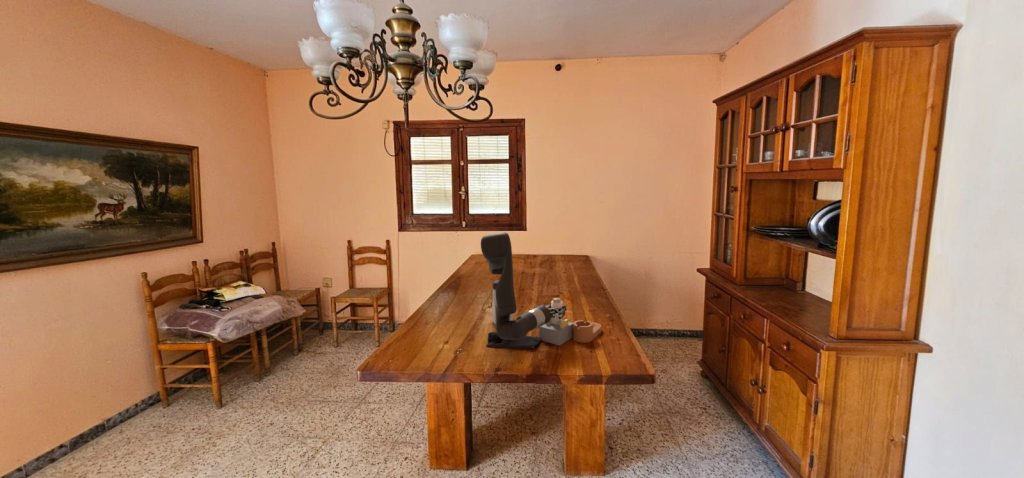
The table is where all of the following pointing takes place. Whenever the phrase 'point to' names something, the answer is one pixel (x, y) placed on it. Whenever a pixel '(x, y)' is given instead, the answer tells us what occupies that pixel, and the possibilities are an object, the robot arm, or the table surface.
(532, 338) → the dark slate chunk
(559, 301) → the white bottle
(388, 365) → the table surface
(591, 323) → the bracket
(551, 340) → the block
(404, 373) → the table surface
